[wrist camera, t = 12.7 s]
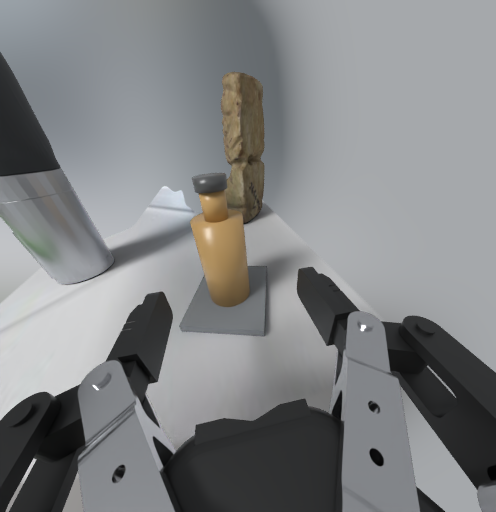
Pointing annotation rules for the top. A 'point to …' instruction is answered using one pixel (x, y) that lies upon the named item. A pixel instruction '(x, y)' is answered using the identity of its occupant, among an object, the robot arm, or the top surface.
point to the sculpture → (243, 142)
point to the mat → (229, 310)
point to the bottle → (220, 242)
